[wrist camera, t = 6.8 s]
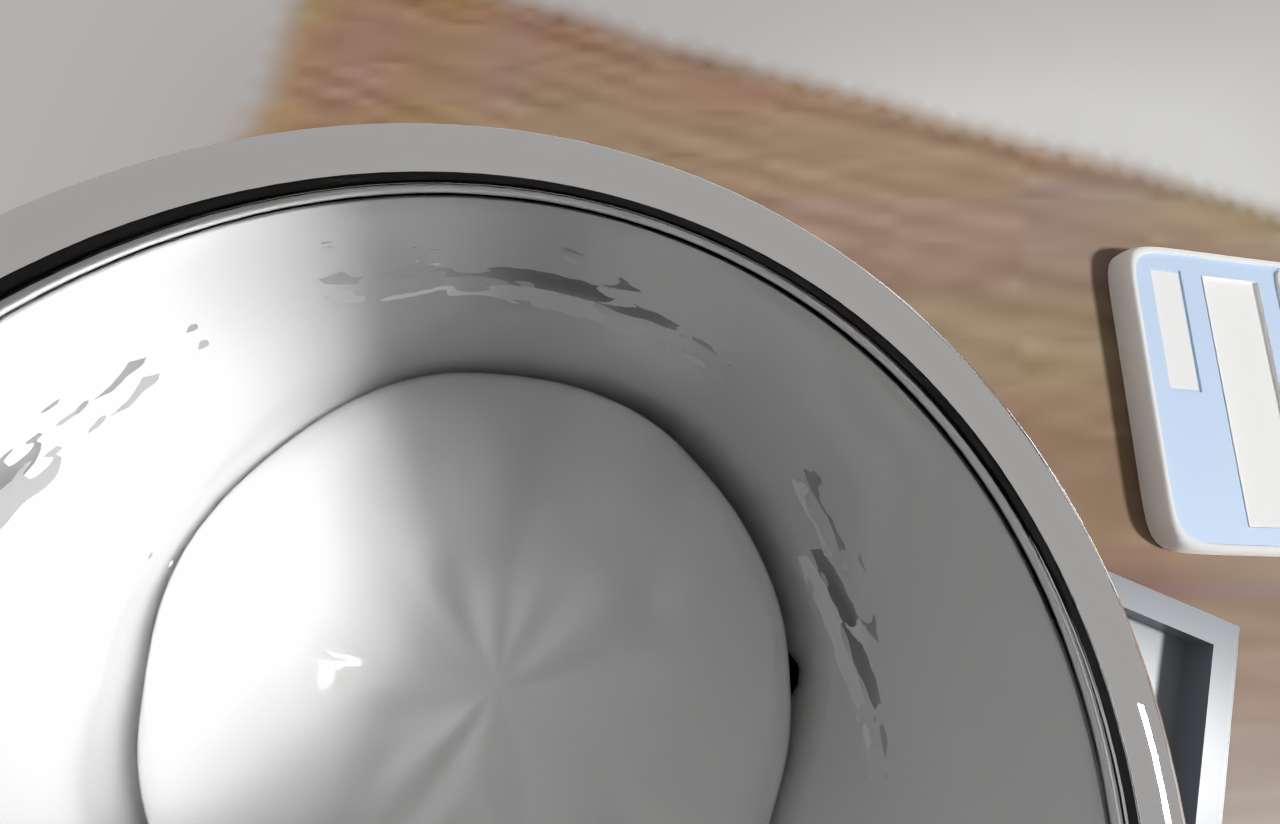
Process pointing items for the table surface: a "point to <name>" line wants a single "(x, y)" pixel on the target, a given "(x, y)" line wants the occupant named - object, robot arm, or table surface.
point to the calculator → (1202, 395)
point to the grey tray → (1188, 689)
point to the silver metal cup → (521, 512)
